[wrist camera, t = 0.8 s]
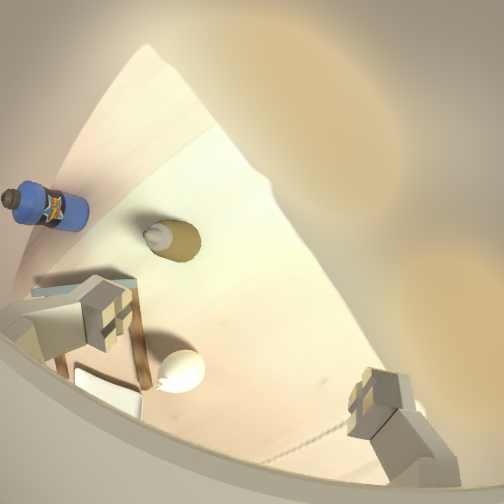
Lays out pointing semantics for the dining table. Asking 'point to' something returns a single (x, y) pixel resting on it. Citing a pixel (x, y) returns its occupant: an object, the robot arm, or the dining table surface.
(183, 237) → the squeeze bottle
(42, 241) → the dining table surface
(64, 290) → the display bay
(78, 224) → the water bottle
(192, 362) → the white dust blower
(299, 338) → the dining table surface
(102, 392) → the salad plate
